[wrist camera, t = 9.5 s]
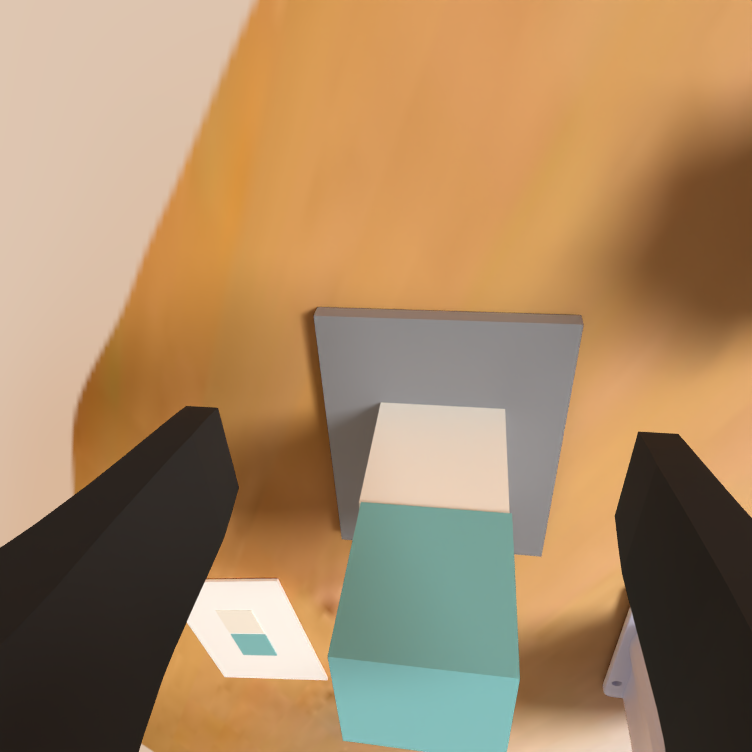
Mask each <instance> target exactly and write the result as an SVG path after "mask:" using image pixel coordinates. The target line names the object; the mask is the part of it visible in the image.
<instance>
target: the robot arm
mask: <svg viewBox="0 0 752 752" xmlns="http://www.w3.org/2000/svg"><path fill="white" fill-rule="evenodd" d="M238 489H239V486H238V482H237V479H236V475H235V471H234V467H233V463H232V460H231V456H230V452H229V448H228V444H227V441H226V437H225V433H224V429H223V425H222V422H221V418H220V414H219V410H218V408H210V407H193V406H186V407H184V408H183V409H182V410H180V411H179V412H178V413H176V414H175V415H174V416H173V417H171V418H170V419H169V420H168V421H166V422H165V423H164V424H163V425H161V426H160V427H159V428H158V429H157V430H155V431H154V432H153V433H152V434H150V435H149V436H148V437H147V438H146V439H144V440H143V441H142V442H141V443H140V444H138V445H137V446H136V447H135V448H133V449H132V450H131V451H130V452H129V453H127V454H126V455H125V456H124V457H122V458H121V459H120V460H119V461H117V462H116V463H115V464H114V465H112V466H111V467H110V468H109V469H107V470H106V471H105V472H104V473H102V474H101V475H100V476H99V477H97V478H96V479H95V480H94V481H92V482H91V483H90V484H89V485H87V486H86V487H85V488H83V489H82V490H81V491H79V492H78V493H76V494H75V495H74V496H72V497H71V498H70V499H68V500H67V501H66V502H64V503H63V504H62V505H60V506H59V507H58V508H56V509H55V510H54V511H52V512H51V513H50V514H48V515H47V516H46V517H44V518H43V519H41V520H40V521H39V522H37V523H36V524H35V525H33V526H32V527H30V528H29V529H28V530H26V531H24V532H23V533H22V534H20V535H19V536H17V537H16V538H14V539H13V540H11V541H10V542H8V543H7V544H5V545H4V546H2V547H1V548H0V752H139V749H140V746H141V742H142V739H143V736H144V733H145V730H146V727H147V724H148V721H149V718H150V715H151V712H152V709H153V706H154V703H155V700H156V697H157V694H158V691H159V688H160V685H161V682H162V679H163V677H164V674H165V672H166V669H167V667H168V664H169V662H170V659H171V657H172V654H173V652H174V649H175V647H176V645H177V643H178V640H179V638H180V636H181V634H182V631H183V629H184V627H185V625H186V623H187V620H188V618H189V616H190V614H191V611H192V609H193V607H194V605H195V602H196V600H197V598H198V596H199V594H200V591H201V589H202V587H203V585H204V582H205V580H206V578H207V576H208V573H209V571H210V569H211V567H212V564H213V562H214V560H215V557H216V555H217V553H218V551H219V548H220V546H221V544H222V541H223V539H224V536H225V533H226V530H227V526H228V523H229V520H230V517H231V513H232V510H233V506H234V503H235V499H236V496H237V492H238ZM615 522H616V531H617V539H618V548H619V555H620V562H621V569H622V575H623V579H624V583H625V587H626V591H627V595H628V599H629V603H630V608H629V611H628V614H627V617H626V620H625V623H624V626H623V628H622V631H621V634H620V637H619V640H618V643H617V646H616V648H615V651H614V654H613V657H612V660H611V663H610V666H609V669H608V671H607V674H606V677H605V680H604V683H603V692H604V694H605V695H607V696H610V697H617V698H623V701H624V707H625V712H626V718H627V724H628V729H629V735H630V740H631V746H632V751H633V752H752V518H751V517H750V516H749V515H748V513H747V512H746V511H745V510H744V509H743V508H742V507H741V506H740V504H739V503H738V502H737V501H736V500H735V499H734V498H733V497H732V495H731V494H730V493H729V492H728V491H727V490H726V489H725V487H724V486H723V485H722V484H721V483H720V482H719V481H718V479H717V478H716V477H715V476H714V475H713V474H712V472H711V471H710V470H709V469H708V468H707V467H706V465H705V464H704V463H703V462H702V461H701V460H700V458H699V457H698V456H697V455H696V454H695V453H694V451H693V450H692V449H691V448H690V447H689V446H688V445H687V443H686V442H685V441H684V440H683V439H682V438H681V437H680V436H679V434H669V433H652V432H638V435H637V438H636V442H635V446H634V449H633V453H632V456H631V460H630V463H629V467H628V471H627V474H626V478H625V481H624V485H623V488H622V492H621V496H620V499H619V503H618V506H617V510H616V514H615Z"/></svg>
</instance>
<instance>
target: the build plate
mask: <svg viewBox="0 0 752 752" xmlns="http://www.w3.org/2000/svg"><path fill="white" fill-rule="evenodd" d="M314 323H315V331H316V339H317V347H318V355H319V362H320V370H321V378H322V386H323V394H324V402H325V410H326V418H327V425H328V433H329V441H330V449H331V457H332V465H333V473H334V481H335V489H336V496H337V504H338V512H339V520H340V528H341V536H342V539H346V540H353V536H354V532H355V527H356V522H357V518H358V513H359V500H360V495H361V491H362V486H363V482H364V477H365V473H366V468H367V463H368V459H369V454H370V450H371V445H372V440H373V436H374V431H375V427H376V422H377V417H378V413H379V408H380V404H381V402H383V403H402V404H421V405H440V406H458V407H477V408H496V409H505V419H506V442H507V465H508V488H509V512H510V513H512V522H513V543H514V554H518V555H530V556H541V555H542V550H543V544H544V539H545V533H546V528H547V522H548V517H549V512H550V506H551V501H552V495H553V490H554V484H555V479H556V473H557V468H558V462H559V457H560V451H561V446H562V440H563V435H564V429H565V424H566V418H567V413H568V407H569V402H570V396H571V391H572V385H573V380H574V374H575V369H576V363H577V358H578V352H579V347H580V341H581V336H582V330H583V325H584V324H583V320H582V316H581V315H559V314H527V313H494V312H461V311H428V310H396V309H363V308H330V307H317V309H316V311H315V314H314Z"/></svg>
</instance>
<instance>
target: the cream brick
mask: <svg viewBox="0 0 752 752" xmlns="http://www.w3.org/2000/svg"><path fill="white" fill-rule="evenodd" d="M361 502H369V503H382V504H395V505H408V506H421V507H434V508H447V509H460V510H473V511H487V512H500V513H510V512H509V488H508V465H507V442H506V419H505V409H496V408H477V407H458V406H440V405H421V404H402V403H383V402H381V404H380V408H379V413H378V417H377V422H376V427H375V431H374V436H373V440H372V445H371V450H370V454H369V459H368V463H367V468H366V473H365V477H364V482H363V486H362V491H361V495H360V500H359V508H360V504H361Z"/></svg>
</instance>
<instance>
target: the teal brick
mask: <svg viewBox="0 0 752 752" xmlns="http://www.w3.org/2000/svg"><path fill="white" fill-rule="evenodd" d="M328 661H329V667H330V672H331V678H332V683H333V689H334V694H335V700H336V705H337V710H338V716H339V721H340V727H341V732H342V738H343V741H349V742H357V743H364V744H372V745H379V746H386V747H394V748H401V749H409V750H416V751H424V752H507V747H508V742H509V736H510V731H511V725H512V720H513V714H514V709H515V703H516V698H517V692H518V687H519V681H520V670H519V649H518V628H517V606H516V585H515V564H514V543H513V522H512V513H500V512H487V511H473V510H460V509H447V508H434V507H421V506H408V505H395V504H382V503H369V502H361V504H360V508H359V513H358V518H357V522H356V527H355V532H354V536H353V541H352V546H351V550H350V555H349V560H348V564H347V569H346V574H345V578H344V583H343V588H342V592H341V597H340V601H339V606H338V611H337V615H336V620H335V625H334V629H333V634H332V639H331V643H330V648H329V653H328Z"/></svg>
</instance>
